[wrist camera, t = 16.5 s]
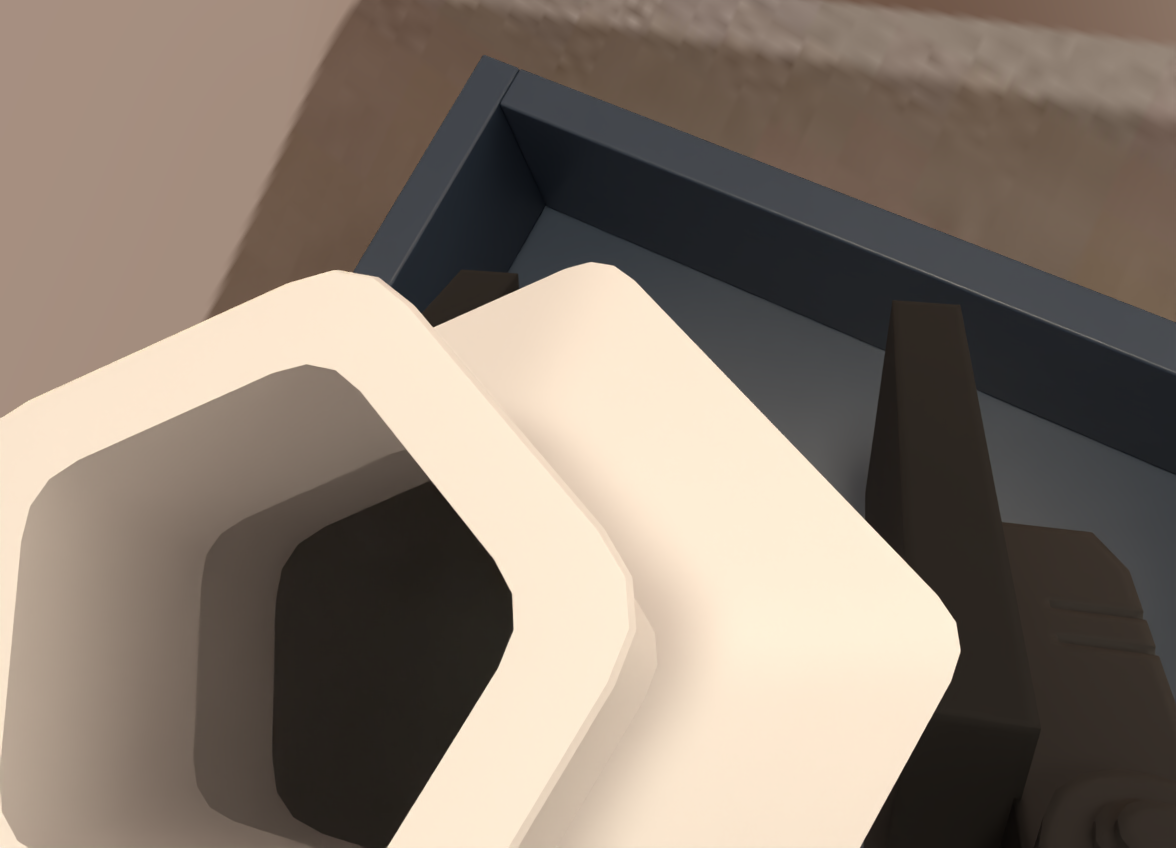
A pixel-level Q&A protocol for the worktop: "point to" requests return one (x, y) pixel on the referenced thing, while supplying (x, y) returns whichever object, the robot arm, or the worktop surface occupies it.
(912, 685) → the perfume bottle
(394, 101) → the worktop surface
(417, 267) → the bin
